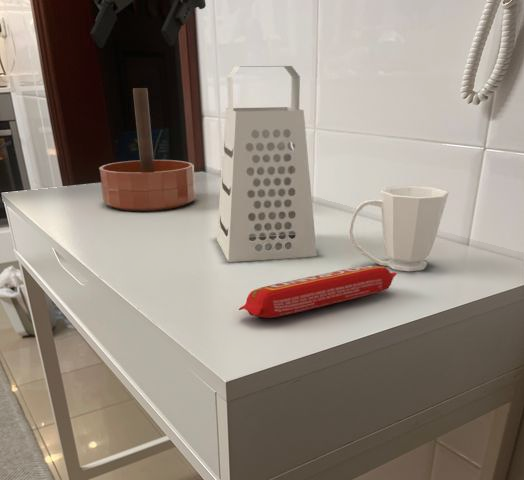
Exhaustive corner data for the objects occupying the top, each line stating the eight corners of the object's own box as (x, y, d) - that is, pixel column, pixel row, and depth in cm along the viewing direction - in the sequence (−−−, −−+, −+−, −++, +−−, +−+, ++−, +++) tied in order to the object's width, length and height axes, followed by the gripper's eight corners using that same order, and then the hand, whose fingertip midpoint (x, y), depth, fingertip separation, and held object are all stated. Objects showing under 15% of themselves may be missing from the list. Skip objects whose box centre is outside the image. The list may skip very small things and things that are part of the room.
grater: (316, 256, 65) (323, 65, 57) (228, 262, 64) (221, 65, 55) (294, 234, 75) (297, 67, 66) (216, 238, 73) (208, 67, 64)
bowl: (100, 197, 99) (96, 162, 96) (185, 192, 103) (182, 158, 101) (108, 215, 86) (103, 175, 83) (204, 208, 90) (202, 169, 88)
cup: (444, 276, 59) (455, 197, 55) (348, 273, 59) (353, 196, 56) (432, 256, 65) (442, 185, 61) (346, 255, 66) (350, 184, 62)
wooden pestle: (138, 198, 95) (126, 88, 88) (159, 196, 96) (149, 88, 89) (141, 201, 92) (129, 88, 85) (162, 200, 93) (153, 88, 86)
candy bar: (373, 284, 56) (376, 255, 55) (399, 295, 54) (402, 265, 52) (234, 317, 49) (233, 284, 48) (255, 331, 46) (255, 297, 45)
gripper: (249, -42, 92) (208, 57, 87) (127, -31, 102) (82, 59, 96) (234, -90, 86) (188, 15, 80) (104, -73, 95) (55, 21, 89)
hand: (130, 39), depth 88 cm, fingers open, 13 cm apart
